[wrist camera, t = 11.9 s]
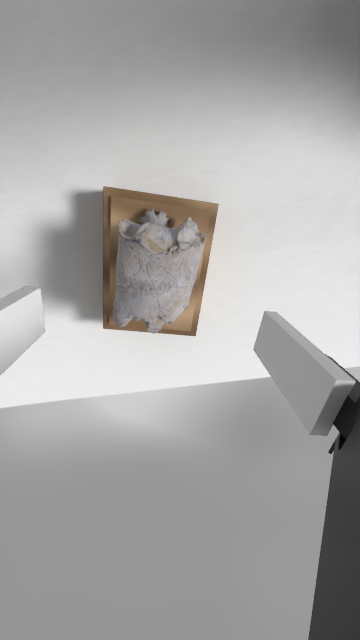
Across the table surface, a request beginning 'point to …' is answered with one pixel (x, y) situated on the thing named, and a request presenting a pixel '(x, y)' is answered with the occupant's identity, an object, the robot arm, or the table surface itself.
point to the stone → (155, 269)
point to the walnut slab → (177, 210)
